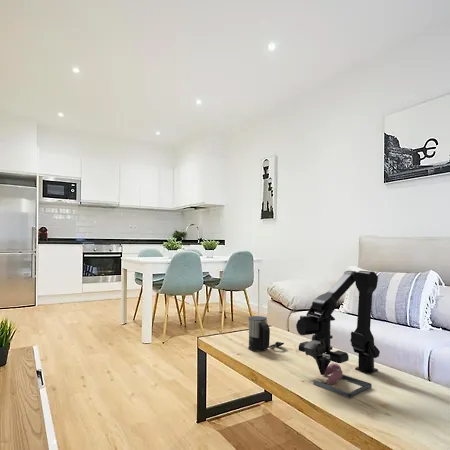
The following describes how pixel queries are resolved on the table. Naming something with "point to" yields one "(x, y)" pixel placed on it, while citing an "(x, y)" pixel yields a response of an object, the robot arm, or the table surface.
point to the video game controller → (333, 373)
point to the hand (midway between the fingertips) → (322, 374)
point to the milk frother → (260, 334)
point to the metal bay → (351, 394)
